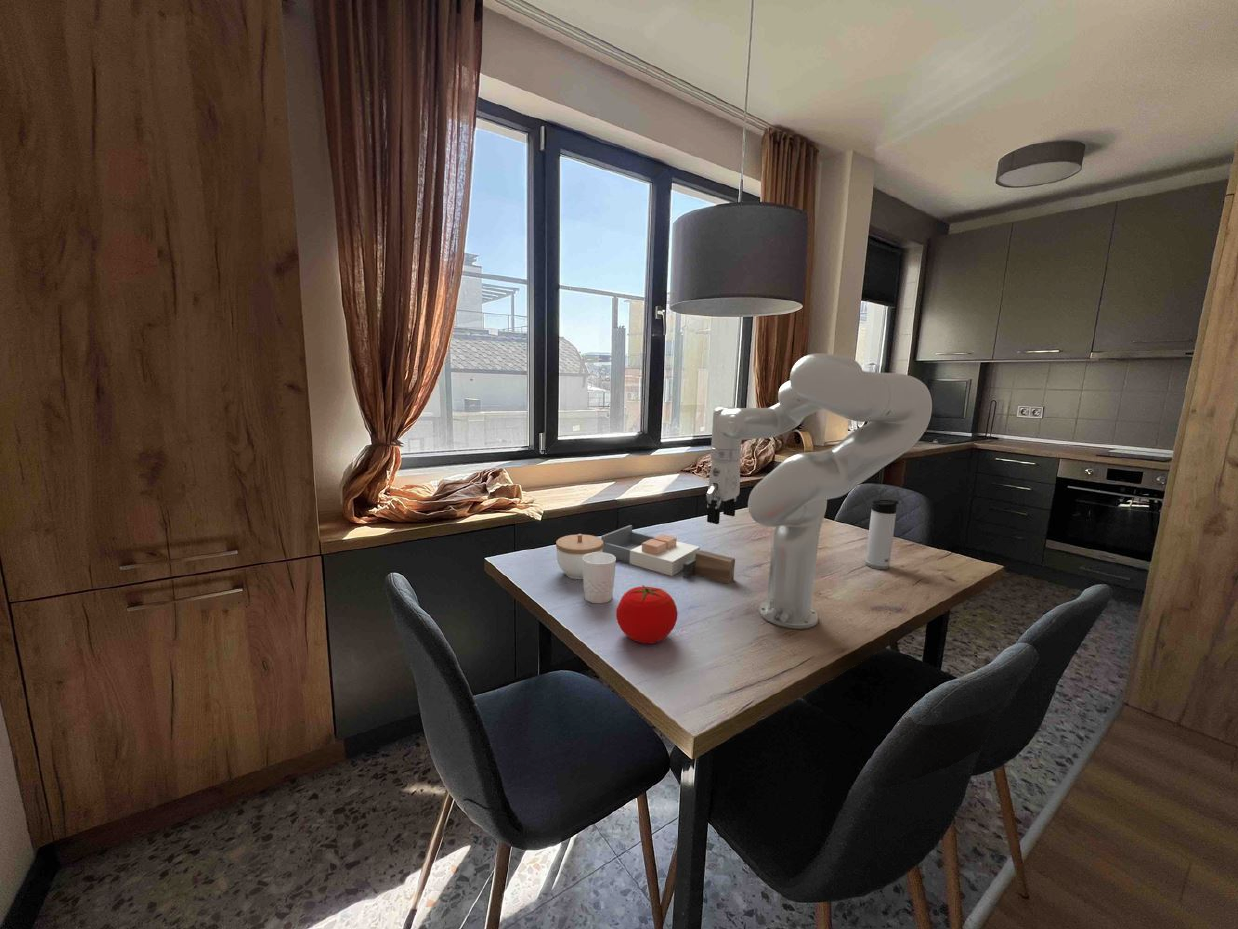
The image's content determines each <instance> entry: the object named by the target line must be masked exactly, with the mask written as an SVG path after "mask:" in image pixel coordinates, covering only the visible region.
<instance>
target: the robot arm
mask: <svg viewBox="0 0 1238 929" xmlns="http://www.w3.org/2000/svg"><path fill="white" fill-rule="evenodd" d="M789 374H790V375H789V380H787V381H786V382H784V383H783V384H782V385H780V388H779V390H778V392H777V393H778V394H777V400H778V402H777V403H776V404H774V405H771V406H770V407H743V408H742V407H740V408H739V407H737V406H736V407H733V406H718V407H716V408H715V409H713V414H712V428H711V430H712V431H711V444H710V447H711V448H710V461H711V464H710V469H709V470H710V471H709V478H708V488H707V489H708V490H707V492H706V494H705V496H706V507H707V513H706V516H707V517H706V522H707V523H709V524H714V525H719V524H720V518H721V509H720V506H721V503H722V501H723V509H722V514H723V515H724V516H729V517H735V516H736V505H737V502H736V501H737V497H738V496H739V495H740V491H741V490H740V488H741V466H740V464H741V463H740V462H741V455H742V454H741V451H742V450H741V449H742V440H758V439H760V440H761V439H763V440H764V439H771V438H772V439H773V438H775V437H778V436H780V435H783V434H785V433H787V432H789V431H792V430H794V429H795V428H797V427H798V426H799V425H801V423H802V422H803V421H804V419H805V418H806V417H808V416H810V415H812V414H814V413H815V412H818V411H821V410H823V409H824V410H826V411H828V412H830V413H833V414H835V415H837V416H839V417H840V418H841V417H842V418H844V419H847V420H849V421H853V422H860V423H861V422H863V423H866V424H864V425H862V426H861V427H858V428H857V429H855V430H853V431H852V432H850V433H849V434H848V435H846V436H845V438H844V439H842V440H840V441H839V442H837V444H835V445H833V446H832V447H831V448H828V449H824V450H820V451H810V452H809V451H808V452H800V453H797V454H794V455H791V456H790V457H788V458H786V459H785V460H783V461H782V462H781V463H780V464H779V465H778V466H776V467H775V468H774V469H773V470H771V471H770V472H769V473H768V474H767V475H766V476H764V478H762V479H761V480H760V481H759V482H757V483H756V485H754V487H753V489H752V490H751V491H750V493H749V496H748V501H747V507H748V508H747V509H748V512H749V515H750V517H751V518H752V519H753V521H755V522H756V523H757V524H759V525H760V526H763V527H766V528H773V527H775V528H774V531H773V534H772V539H771V548H770V558H769V560H770V562H769V572H768V581H767V582H768V583H767V584H768V585H767V596H766V600H763V601H762V602H761V603H760V604H759V606H758V612H759V614H760V616H761V617H762V618H763V619H765V620H766V621H767V622H770V623H771V624H773V625H776V626H779V627H783V628H787V629H798V630H801V629H810V628H813V627H815V625H817V624H818V622H819V621H818V620H819V615H818V613H817V612H816V610H815V609H813V608H812V606H813V596H814V586H815V585H814V584H815V576H816V568H817V566H816V564H817V557H818V556H817V555H818V545H819V539H820V532H821V528H822V524H823V521H824V519H825V514H826V510H827V505H828V500H831V499H832V500H833V499H837V498H840V497H843V496H844V495H846V494H848V493H849V492H850V491H851V492H852V490H853V489H855V488H856V487H857V486H859V485H860V484H862V483H863V482H865V481H867V480H868V479H869V478H871V477H872V476H873V475H875V474H876V473H878V472H879V471H880V470H882V469H883V468H885V467H886V466H888V465H889V464H891V463H892V462H894V461H895V460H896V459H898V458H899V457H901V456H902V455H903V454H905V453H906V452H908V451H909V450H910V449H911V448H912V447H913V446H914V445H915V444H916V443H917V442H918V441H919V440H920V439H921V437H922V436H923V435H924V433H925V432H926V430H927V429H928V426H929V423H930V421H931V417H932V412H933V401H932V396H931V393H930V390H929V389H928V387H927V386H926V384H925V383H924V382H923V381H922V380H920V379H918V378H916V377H914V376H911V375H908V374H904V373H894V372H878V371H877V372H876V371H875V372H873V371H864V370H863V368H862V366H861V365H860V362H858V361H857V360H856V359H854V358H852V357H851V356H847V355H843V354H842V355H841V354H831V353H821V352H820V353H811V354H807V355H805V356H803V357H801V358H800V359H798V360H797V361H796V362H795V364H794V365H793V366H792V368H791V370H790V373H789Z"/></svg>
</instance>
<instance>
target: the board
mask: <svg viewBox="0 0 1238 929" xmlns="http://www.w3.org/2000/svg"><path fill="white" fill-rule="evenodd" d="M699 551H701V546H698V545H694V544H691V543H685V542H681V541H676V546H674V547H672V548H670V549H668V550H667V549H666V551H664V552H662V553H660V554H658V555H654V554H650V553H646V552H643V551H642V545H641V546H638V547H636V548H634V549H632V550H630V564H629V565H633V566H637V567H640V568H643V569H647V570H651V571H654V572H657V573H660V574H663V575H664V574H665V575H667V576H671V577H672V576H675V575H676V574H678V573H679V572H681V571H683V565H684V563H686V562H687V561H689V560H691V559H693V558H694V557H695V556H696V553H697V552H699Z"/></svg>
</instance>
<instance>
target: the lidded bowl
mask: <svg viewBox="0 0 1238 929" xmlns="http://www.w3.org/2000/svg"><path fill="white" fill-rule="evenodd" d="M555 543H556V544H555V547H556V559H557V563H558V565H559V569H561V571H562V572H563V573H564V574H565V575H566V577H568V578H570V579H572V580H583V556H584V555H586V554H589V553H594V552H603V541H602V539H601V537H598V536H595V535H591V534H582V533H578V534H569V535H565V536H562V537H560V538H558V539H557V540H556V541H555Z"/></svg>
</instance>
